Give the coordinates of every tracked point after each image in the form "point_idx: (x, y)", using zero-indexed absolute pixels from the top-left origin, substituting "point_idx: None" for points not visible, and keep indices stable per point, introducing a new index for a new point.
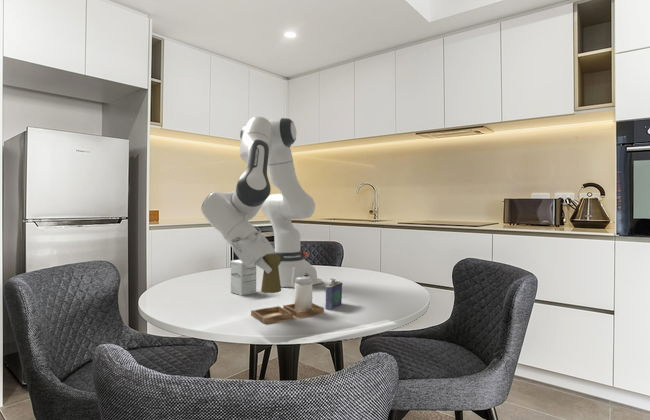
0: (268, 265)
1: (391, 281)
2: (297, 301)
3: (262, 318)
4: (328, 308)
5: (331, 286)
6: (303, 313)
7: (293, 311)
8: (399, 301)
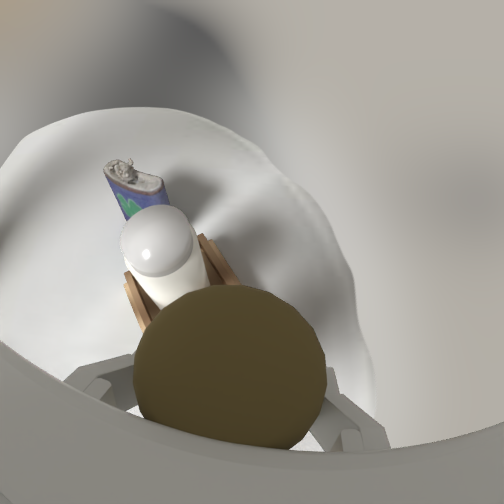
0: (331, 392)
1: (24, 146)
2: None
3: None
4: None
5: (153, 178)
6: None
7: None
8: (126, 128)
